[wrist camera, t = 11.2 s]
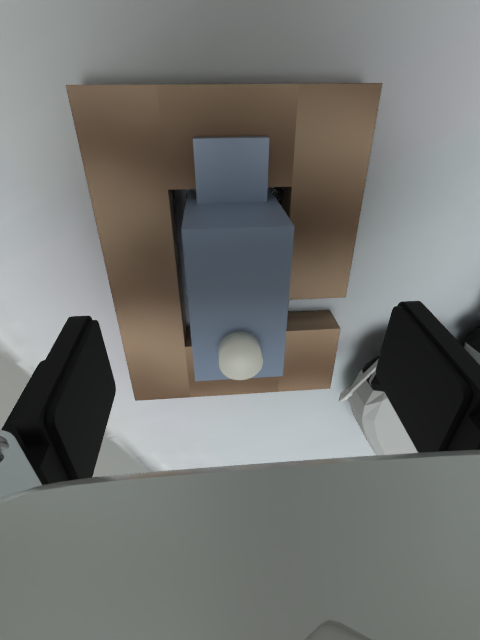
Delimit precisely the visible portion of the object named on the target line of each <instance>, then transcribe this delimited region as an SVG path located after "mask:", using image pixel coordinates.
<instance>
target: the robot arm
mask: <svg viewBox="0 0 480 640" xmlns="http://www.w3.org/2000/svg"><path fill="white" fill-rule="evenodd" d="M376 377H377V380H378V382H379V383H380V385H381V387H382V389H383V391H384V392H385V394H386V396H387V398H388V399H389V401H390V403H391V405H392V407H393V408H394V410H395V412H396V414H397V416H398V417H399V419H400V421H401V423H402V425H403V426H404V428H405V430H406V432H407V434H408V435H409V437H410V439H411V441H412V443H413V444H414V446H415V448H416V450H417V452H418V453H407V454H392V455H377V456H362V457H347V458H332V459H318V460H304V461H290V462H276V463H263V464H249V465H235V466H223V467H210V468H197V469H184V470H171V471H158V472H146V473H135V474H124V475H114V476H103V477H92V476H93V472H94V468H95V465H96V461H97V458H98V454H99V451H100V447H101V443H102V440H103V436H104V433H105V429H106V426H107V422H108V418H109V415H110V411H111V408H112V404H113V400H114V397H115V391H116V387H115V381H114V378H113V374H112V370H111V366H110V363H109V359H108V355H107V352H106V348H105V344H104V341H103V337H102V333H101V330H100V326H99V323H98V321H97V320H92V318H91V317H90V316H73V317H69V318H68V320H67V322H66V323H65V325H64V327H63V329H62V331H61V332H60V334H59V336H58V338H57V340H56V341H55V343H54V345H53V347H52V349H51V351H50V352H49V354H48V356H47V358H46V360H43V361H41V362H40V363H39V365H38V366H37V368H36V370H35V371H34V373H33V375H32V377H31V378H30V380H29V382H28V384H27V386H26V387H25V389H24V391H23V392H22V394H21V396H20V398H19V400H18V401H17V403H16V405H15V407H14V408H13V410H12V412H11V414H10V415H9V417H8V419H7V421H6V422H5V424H4V426H3V428H2V430H0V640H480V365H479V364H478V362H477V361H476V360H475V359H474V358H473V357H472V356H471V355H470V354H469V353H468V352H467V351H466V350H465V349H464V347H463V346H462V345H461V344H460V343H459V342H458V341H457V340H456V339H455V338H454V337H453V336H452V335H451V333H450V332H449V331H448V330H447V329H446V328H445V327H444V326H443V325H442V324H441V323H440V322H439V321H438V320H437V318H436V317H435V316H434V315H433V314H432V313H431V312H430V311H429V310H428V309H427V308H426V307H425V306H424V305H423V303H421V302H420V301H407V302H400V303H399V304H398V306H396V307H394V308H393V310H392V313H391V317H390V320H389V324H388V327H387V331H386V334H385V338H384V342H383V345H382V349H381V352H380V356H379V360H378V363H377V367H376Z"/></svg>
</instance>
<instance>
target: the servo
mask: <svg viewBox="0 0 480 640" xmlns="http://www.w3.org/2000/svg"><path fill="white" fill-rule="evenodd" d="M193 149H194V164H195V179H196V190H188V191H187V197H186V203H185V209H184V215H183V222H182V228H181V233H182V244H183V255H184V266H185V277H186V288H187V298H188V309H189V320H190V331H191V342H192V353H193V363H194V374H195V381H209V380H226V379H233V380H246V379H249V378H260V377H277V376H283V367H284V354H285V341H286V328H287V315H288V303H289V290H290V277H291V264H292V251H293V239H294V225H293V223H292V222H291V220H290V219H289V217H288V216H287V214H286V213H285V211H284V210H283V208H282V207H281V205H280V204H279V202H278V201H277V199H276V198H275V196H274V194H273V193H272V191H271V190H270V188H268V161H269V137H268V136H245V137H193Z"/></svg>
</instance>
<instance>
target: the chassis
mask: <svg viewBox="0 0 480 640" xmlns="http://www.w3.org/2000/svg"><path fill="white" fill-rule="evenodd" d="M66 88H67V93H68V97H69V102H70V106H71V111H72V116H73V120H74V125H75V129H76V134H77V138H78V143H79V147H80V152H81V156H82V161H83V165H84V170H85V175H86V179H87V184H88V188H89V193H90V197H91V202H92V206H93V211H94V215H95V220H96V225H97V229H98V234H99V238H100V243H101V247H102V252H103V256H104V261H105V265H106V270H107V274H108V279H109V284H110V288H111V293H112V297H113V302H114V306H115V311H116V315H117V320H118V324H119V329H120V334H121V338H122V343H123V347H124V352H125V356H126V361H127V365H128V370H129V374H130V379H131V383H132V388H133V393H134V397H135V401H137V400H153V399H169V398H185V397H201V396H217V395H233V394H248V393H264V392H280V391H296V390H312V389H328V388H330V386H331V380H332V375H333V369H334V363H335V357H336V351H337V345H338V339H339V334H340V327H339V325H338V324H337V322H336V320H335V318H334V316H333V315H332V313H331V311H330V310H325V311H304V312H288V315H287V328H286V341H285V354H284V367H283V376H277V377H260V378H249V379H246V380H233V379H226V380H209V381H195V374H194V363H193V353H192V342H191V331H190V327H186V319H185V309H184V299H183V289H182V279H181V269H180V260H179V250H178V240H177V230H176V220H175V210H174V200H173V191H172V190H179V189H196V179H195V164H194V149H193V137H245V136H268V137H269V161H268V187H283V196H282V208H283V210H284V211H285V213H286V214H287V216H288V217H289V219H290V220H291V222H292V223H293V225H294V239H293V251H292V264H291V277H290V290H289V300H294V299H316V298H338V297H346V293H347V287H348V281H349V275H350V269H351V263H352V257H353V252H354V246H355V240H356V234H357V228H358V222H359V216H360V211H361V205H362V199H363V193H364V187H365V181H366V175H367V170H368V164H369V158H370V152H371V146H372V140H373V134H374V129H375V123H376V117H377V111H378V105H379V99H380V93H381V88H382V83H330V84H156V85H66Z"/></svg>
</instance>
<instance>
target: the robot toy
mask: <svg viewBox="0 0 480 640" xmlns="http://www.w3.org/2000/svg"><path fill="white" fill-rule="evenodd" d="M464 349H465V350H466V351H467V352H468V353H469V354H470V355H471V356H472V357H473V358H474V359H475V360H476V361H477V362H478V364H479V365H480V328H476V330H475V331H474V332H473V333H472V334H471V335H470V336H469V337H468V338H467V340H466V341H465V346H464ZM379 356H380V354H379ZM379 356H378V357H376V358H375V359H373V360H372V361H370V362H368V363H367V364H366V365H365V367H364V368H363V369H361V370H360V372H359V374H358V376H357V377H356V379H355V381H354V383H353V384H352V385H351V386H350V387H349V388H348V389H347V388H346V389H345V390H344V391H343V392H342V393H341V394H340V398H339V402H340V401H345V400H347V399H348V398H349V397H350V404H351V408H352V411H353V414H354V416H355V418H356V420H357V422H358V424H359V426H360V428H361V430H362V432H363V434H364V435H365V437H366V439H367V441H368V442H369V444H370V446H371V448H372V449H373V451H374V453H375V454H376V455H392V454H407V453H418V452H417V450H416V448H415V446H414V444H413V443H412V441H411V439H410V437H409V435H408V434H407V432H406V430H405V428H404V426H403V425H402V423H401V421H400V419H399V417H398V416H397V414H396V412H395V410H394V408H393V407H392V405H391V403H390V401H389V399H388V398H387V396H386V394H385V392H384V391H383V389H382V387H381V385H380V383H379V382H378V380H377V377H376V367H377V363H378V360H379Z"/></svg>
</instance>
